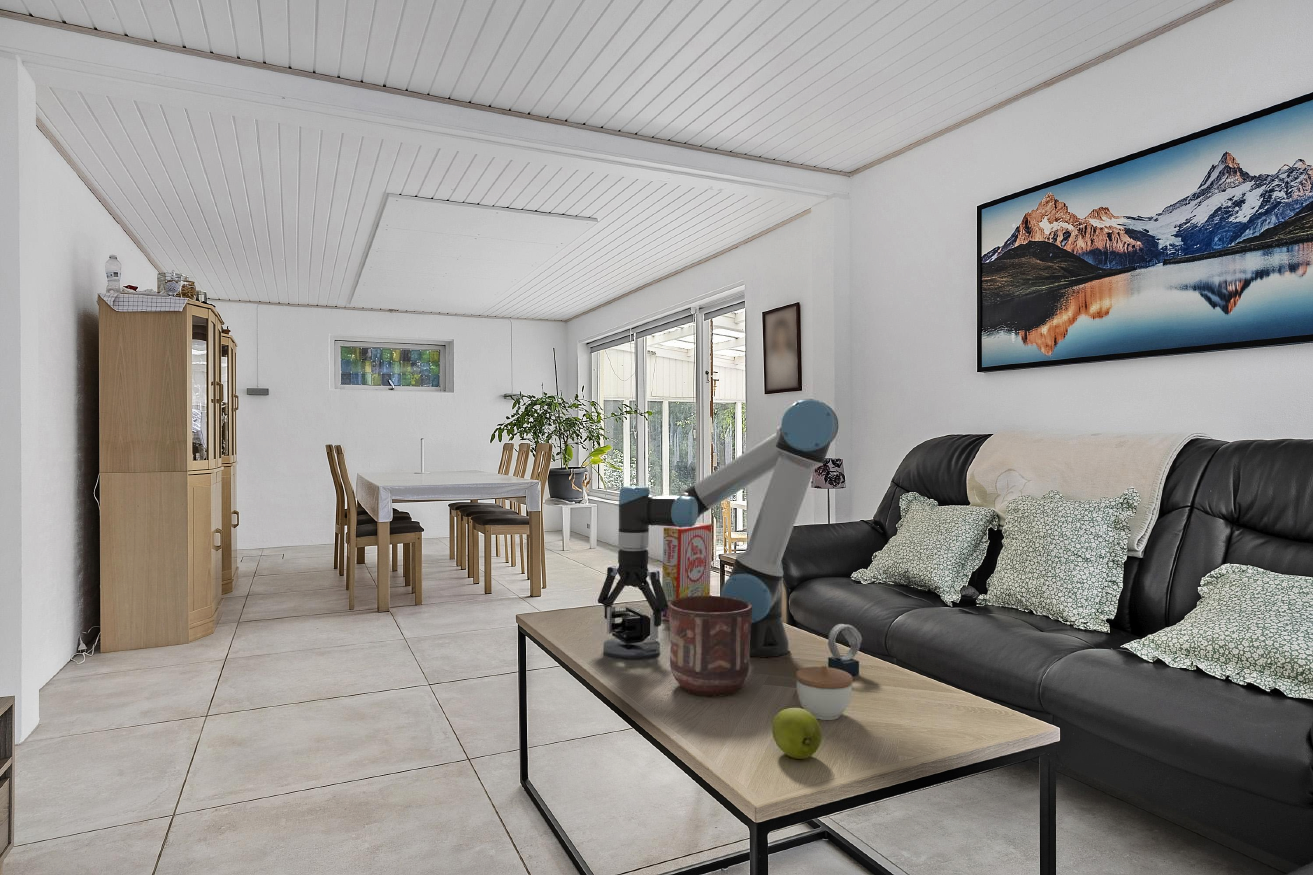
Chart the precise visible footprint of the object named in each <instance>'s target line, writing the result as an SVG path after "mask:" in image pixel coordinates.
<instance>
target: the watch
mask: <svg viewBox="0 0 1313 875" xmlns="http://www.w3.org/2000/svg"><path fill="white" fill-rule="evenodd" d="M841 630H842V631H841ZM839 632H841V633H842V634H843V636H844V638H845V639H846V641H848V644H849V645H850V648H849V650H848V651H847V653H846V654H841V653H840V651H839V649H838V645H837V644H836V638H837V635H838V634H839ZM827 638H828V642H827V645H828V649H829V652H830V653H831V655H832V656H828V657H827V667H829V668H835V669H839V670H842V671H845V672H847V673H849V674H850V675H851V676H852V677H854V676H859V675H860V661H859V660H857V659H855V657H856V656H857V654H858V652H859V650H860V648H861V643H862V641H863V637H862V636H861V633H860V632H859V630H857V628H856V627H854V626H853V625H851V624H844V623H838V624H835V625H834V626H833V627H832V628H831V630H830V632H829V633H828V637H827Z"/></svg>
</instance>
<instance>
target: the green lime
mask: <svg viewBox="0 0 1313 875" xmlns="http://www.w3.org/2000/svg"><path fill="white" fill-rule="evenodd" d="M771 732H772V738H773V740H774V742H775V743H776V746H777V747H778V748H779V749H780V751H782V752H783V753H784V754H786V755H787V756H788V757H791V758H793V759H796V760H803V759H807V758H809V757H811V756H812V755H814V754H815V753H816V752H817V751H818V749H819V748H820V745H821V742H822V738H823V737H822V730H821V727H820V724H819V722H818V719H816V718H815V717H814V716H813V715H812V714H811V713H810V712H809V711H807V710H805V709H804V708H800V707H788V708H785V709H782V710H781V711H779V712H778V713H777V714H776V715H775V716H774V718H773V720H772V724H771Z"/></svg>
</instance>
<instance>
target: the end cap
mask: <svg viewBox="0 0 1313 875" xmlns="http://www.w3.org/2000/svg"><path fill="white" fill-rule="evenodd" d="M612 618H615V619H620V618H621V621H620V622H615V623H612V624H611V629H612V631H613V633H611V636H612V637H613V638H617V639H619V640H621V641H622V642H624V643H626V644H631V643H640V642H643V641H644V640H645V639H646V638H650V615H646V614H645V613H643V612H640V611H638V610H637V609H635V608H632V607H629V606H625V609H624V610H615V611H613V612H612Z"/></svg>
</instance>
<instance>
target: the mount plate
mask: <svg viewBox="0 0 1313 875" xmlns="http://www.w3.org/2000/svg"><path fill="white" fill-rule="evenodd" d="M602 652H603V654H604V655H606V656H607V657H609V658H612V659H619V660H625V661H626V660H627V661H632V660H633V661H636V660H637V661H638V660H639V661H640V660H646V659H652V658H654V657H655V658H656V657H657V656H659V655H660V653H661V643H660V642H659V641H658V640H657V639H656V640H653V641H651V640H650V637H648V638H646V639H645V640H644V641H643V642H640V643H631V644H626V643H624V642H622V641H621V640H619V639H617V638H615V637H612V638H610V639H606V640H605V641H604V642H603V650H602Z"/></svg>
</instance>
